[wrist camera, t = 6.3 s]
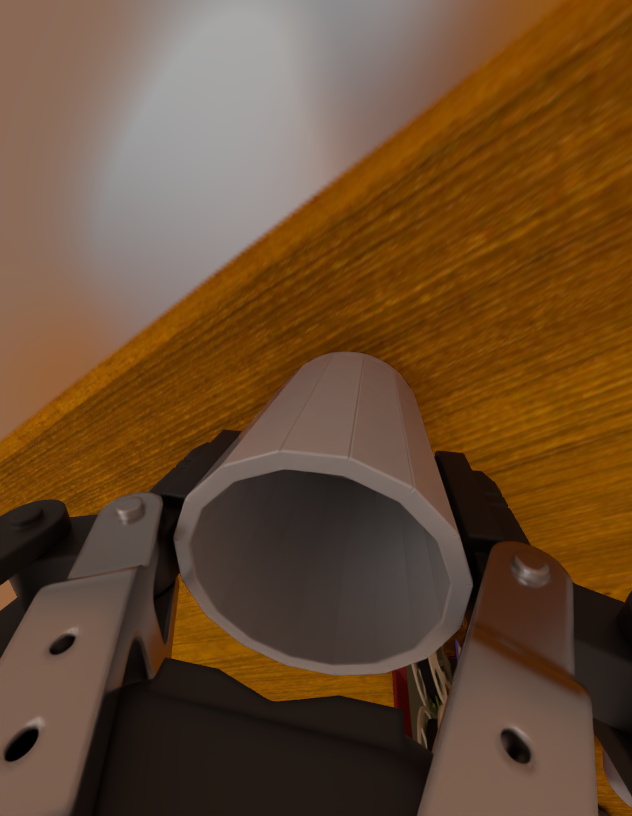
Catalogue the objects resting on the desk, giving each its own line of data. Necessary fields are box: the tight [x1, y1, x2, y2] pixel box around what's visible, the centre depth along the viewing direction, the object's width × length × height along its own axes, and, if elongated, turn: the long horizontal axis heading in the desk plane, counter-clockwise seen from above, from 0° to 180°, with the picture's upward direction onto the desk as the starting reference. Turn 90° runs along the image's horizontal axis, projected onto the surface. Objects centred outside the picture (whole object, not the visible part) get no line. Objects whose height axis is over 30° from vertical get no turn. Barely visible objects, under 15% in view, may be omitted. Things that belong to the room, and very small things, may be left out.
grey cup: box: [173, 352, 473, 676], centre depth 10 cm, size 6×6×8 cm
